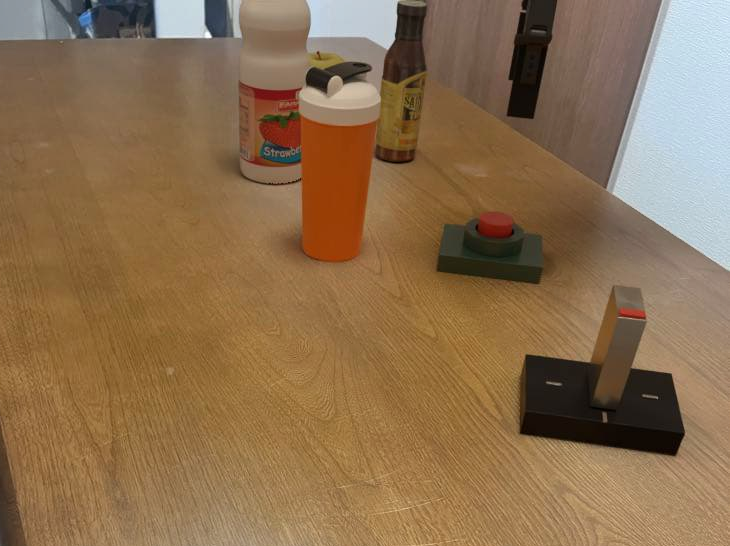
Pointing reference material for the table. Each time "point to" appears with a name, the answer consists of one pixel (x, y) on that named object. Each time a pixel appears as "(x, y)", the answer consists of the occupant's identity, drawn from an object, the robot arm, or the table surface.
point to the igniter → (491, 254)
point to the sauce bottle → (402, 86)
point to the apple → (324, 60)
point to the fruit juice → (272, 87)
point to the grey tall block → (616, 346)
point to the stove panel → (597, 425)
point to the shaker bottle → (336, 158)
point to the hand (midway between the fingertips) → (520, 98)
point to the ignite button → (495, 224)
